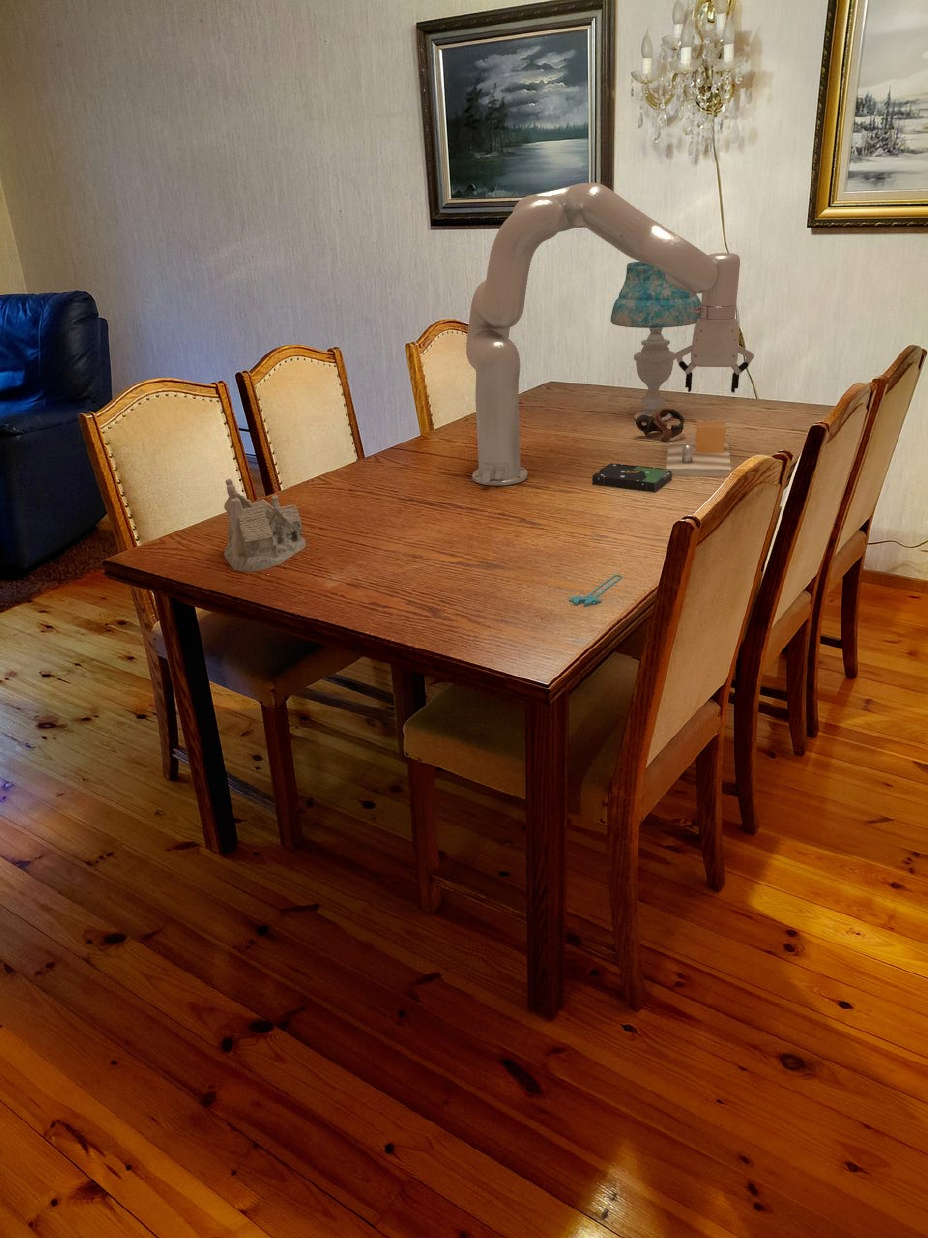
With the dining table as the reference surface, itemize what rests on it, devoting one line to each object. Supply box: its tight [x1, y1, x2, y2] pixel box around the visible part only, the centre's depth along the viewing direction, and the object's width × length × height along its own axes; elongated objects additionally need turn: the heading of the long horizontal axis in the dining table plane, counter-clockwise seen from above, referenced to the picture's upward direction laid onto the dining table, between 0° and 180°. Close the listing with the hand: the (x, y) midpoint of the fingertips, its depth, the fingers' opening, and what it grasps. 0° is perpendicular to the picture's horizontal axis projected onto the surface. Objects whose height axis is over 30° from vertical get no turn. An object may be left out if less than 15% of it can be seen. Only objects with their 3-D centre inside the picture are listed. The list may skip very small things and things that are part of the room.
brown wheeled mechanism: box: [635, 407, 685, 443], centre depth 233 cm, size 12×10×8 cm
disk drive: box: [591, 462, 673, 493], centre depth 202 cm, size 10×3×15 cm
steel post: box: [682, 444, 694, 464], centre depth 207 cm, size 2×2×4 cm
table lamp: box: [610, 261, 701, 422], centre depth 243 cm, size 24×24×40 cm
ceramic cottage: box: [223, 478, 307, 573], centre depth 172 cm, size 16×16×15 cm
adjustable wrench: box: [568, 574, 623, 607], centre depth 151 cm, size 14×1×5 cm
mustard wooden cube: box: [695, 420, 726, 453], centre depth 215 cm, size 6×6×6 cm
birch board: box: [665, 442, 732, 478], centre depth 213 cm, size 22×14×2 cm, turn 167°
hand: (711, 391), depth 211 cm, fingers open, 9 cm apart
